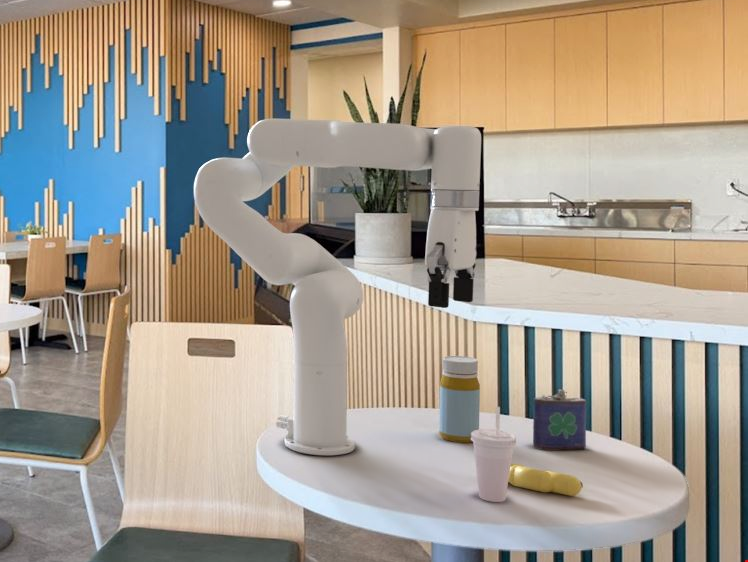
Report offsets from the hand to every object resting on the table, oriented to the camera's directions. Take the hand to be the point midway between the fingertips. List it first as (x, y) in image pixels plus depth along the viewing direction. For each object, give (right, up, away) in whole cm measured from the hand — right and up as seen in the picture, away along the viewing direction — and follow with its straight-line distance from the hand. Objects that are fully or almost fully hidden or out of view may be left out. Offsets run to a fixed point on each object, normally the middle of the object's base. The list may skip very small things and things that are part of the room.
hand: (450, 304), depth 144 cm
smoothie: (+2, -29, -13) cm, 31 cm away
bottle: (+8, -27, +19) cm, 34 cm away
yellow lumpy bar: (+9, -28, -9) cm, 31 cm away
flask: (+24, -27, +13) cm, 39 cm away
